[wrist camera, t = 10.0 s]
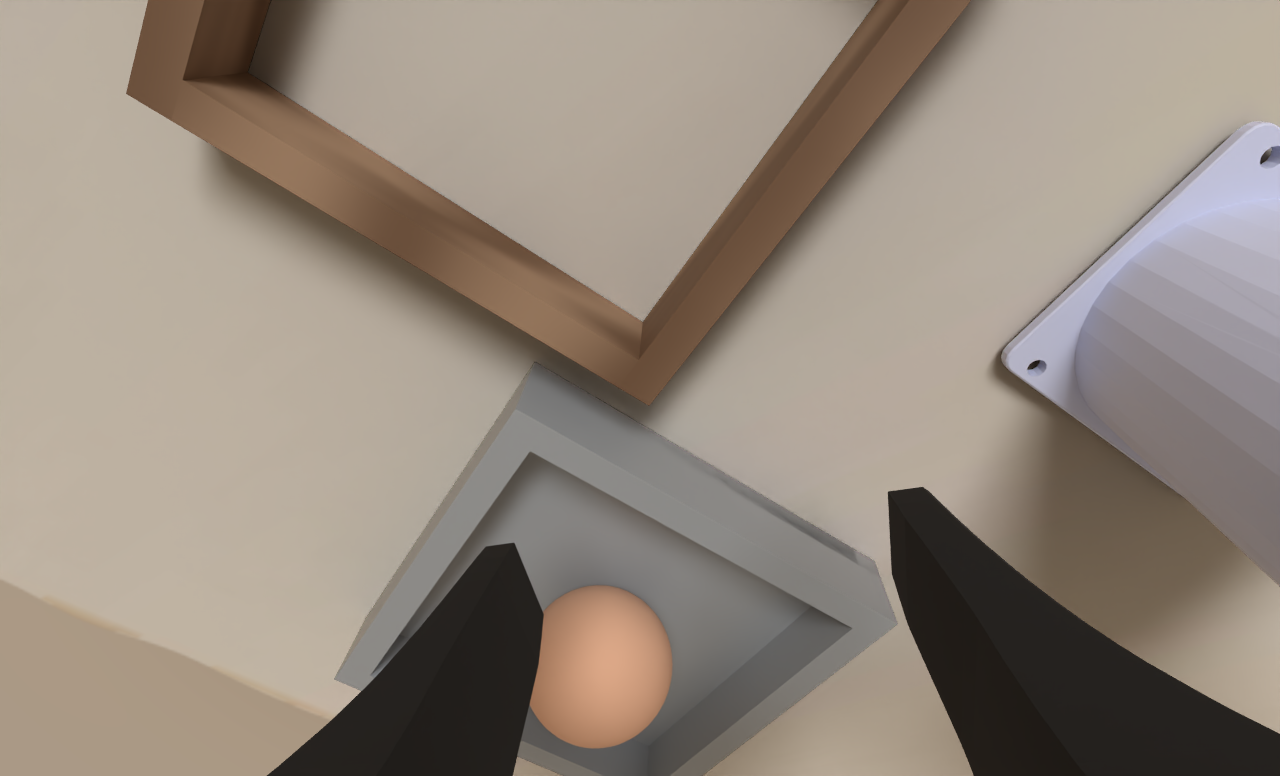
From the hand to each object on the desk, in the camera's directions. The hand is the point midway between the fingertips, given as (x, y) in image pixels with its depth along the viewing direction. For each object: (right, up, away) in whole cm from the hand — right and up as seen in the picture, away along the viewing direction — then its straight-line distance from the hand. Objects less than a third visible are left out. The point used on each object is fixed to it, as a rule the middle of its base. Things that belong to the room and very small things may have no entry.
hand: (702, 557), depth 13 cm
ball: (-3, -6, +9) cm, 11 cm away
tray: (-2, -4, +12) cm, 13 cm away
